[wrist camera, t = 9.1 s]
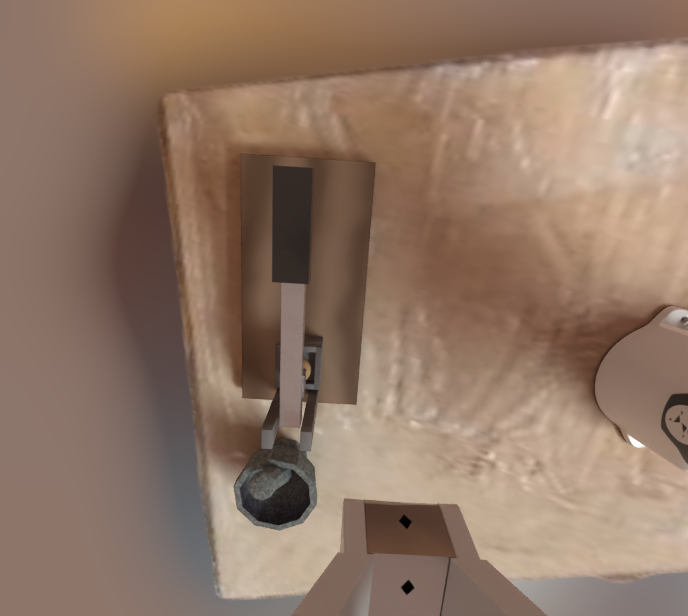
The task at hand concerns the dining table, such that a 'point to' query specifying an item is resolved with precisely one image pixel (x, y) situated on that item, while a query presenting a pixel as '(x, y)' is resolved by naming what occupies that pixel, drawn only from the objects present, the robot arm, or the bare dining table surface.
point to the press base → (321, 293)
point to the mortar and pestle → (277, 486)
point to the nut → (307, 368)
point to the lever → (292, 278)
